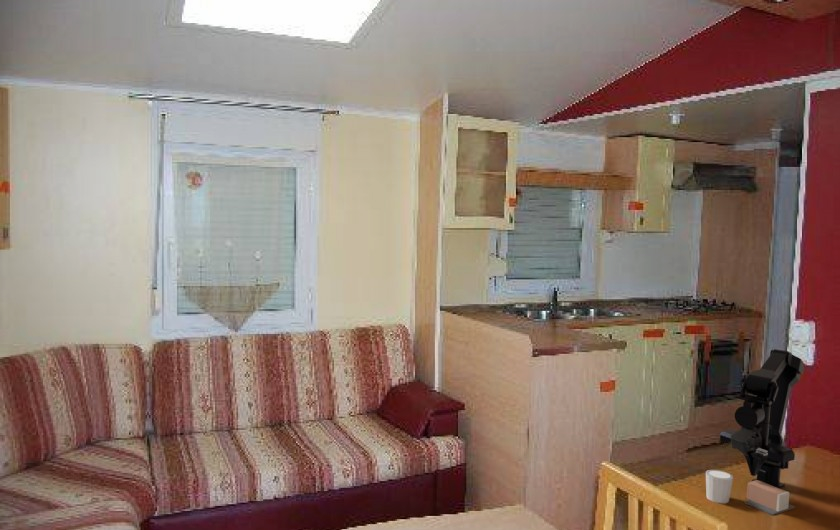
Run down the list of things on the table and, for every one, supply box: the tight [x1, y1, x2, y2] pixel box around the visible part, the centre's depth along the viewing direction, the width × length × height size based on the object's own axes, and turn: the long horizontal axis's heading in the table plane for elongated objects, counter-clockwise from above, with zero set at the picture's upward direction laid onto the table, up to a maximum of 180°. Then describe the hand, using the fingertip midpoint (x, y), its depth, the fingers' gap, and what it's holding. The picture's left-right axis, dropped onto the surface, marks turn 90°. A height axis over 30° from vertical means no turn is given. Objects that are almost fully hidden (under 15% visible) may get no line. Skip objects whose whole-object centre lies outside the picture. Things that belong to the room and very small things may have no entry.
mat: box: [743, 499, 796, 516], centre depth 173 cm, size 10×8×1 cm
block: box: [746, 480, 790, 512], centre depth 173 cm, size 4×4×9 cm
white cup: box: [705, 469, 734, 504], centre depth 176 cm, size 7×7×7 cm
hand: (753, 475), depth 176 cm, fingers closed
